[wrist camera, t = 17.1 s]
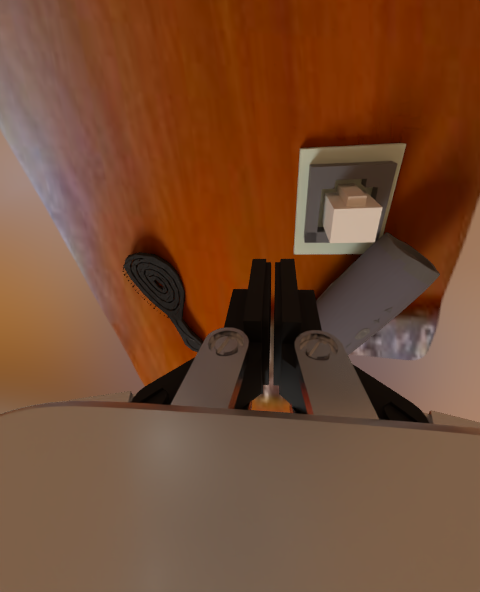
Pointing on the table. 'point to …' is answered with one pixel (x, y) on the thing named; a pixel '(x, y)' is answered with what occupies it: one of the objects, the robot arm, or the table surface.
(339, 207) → the keyed plug
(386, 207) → the socket board
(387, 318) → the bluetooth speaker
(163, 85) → the table surface
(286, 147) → the table surface
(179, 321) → the hairbrush
